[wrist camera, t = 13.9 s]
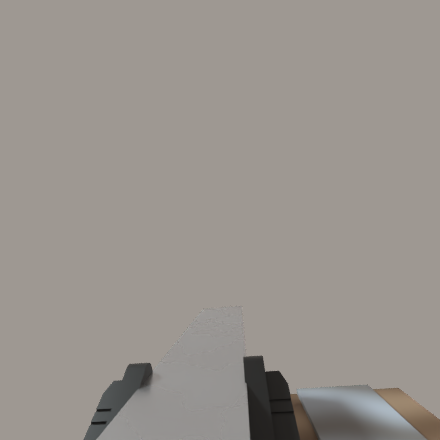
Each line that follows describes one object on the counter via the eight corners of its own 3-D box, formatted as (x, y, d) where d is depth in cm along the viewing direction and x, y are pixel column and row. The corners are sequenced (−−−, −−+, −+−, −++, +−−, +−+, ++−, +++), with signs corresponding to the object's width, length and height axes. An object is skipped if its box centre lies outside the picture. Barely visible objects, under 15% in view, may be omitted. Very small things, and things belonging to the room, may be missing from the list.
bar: (273, 736, 5) (252, 481, 5) (53, 735, 5) (55, 489, 5) (245, 346, 26) (241, 306, 27) (206, 349, 26) (203, 308, 27)
